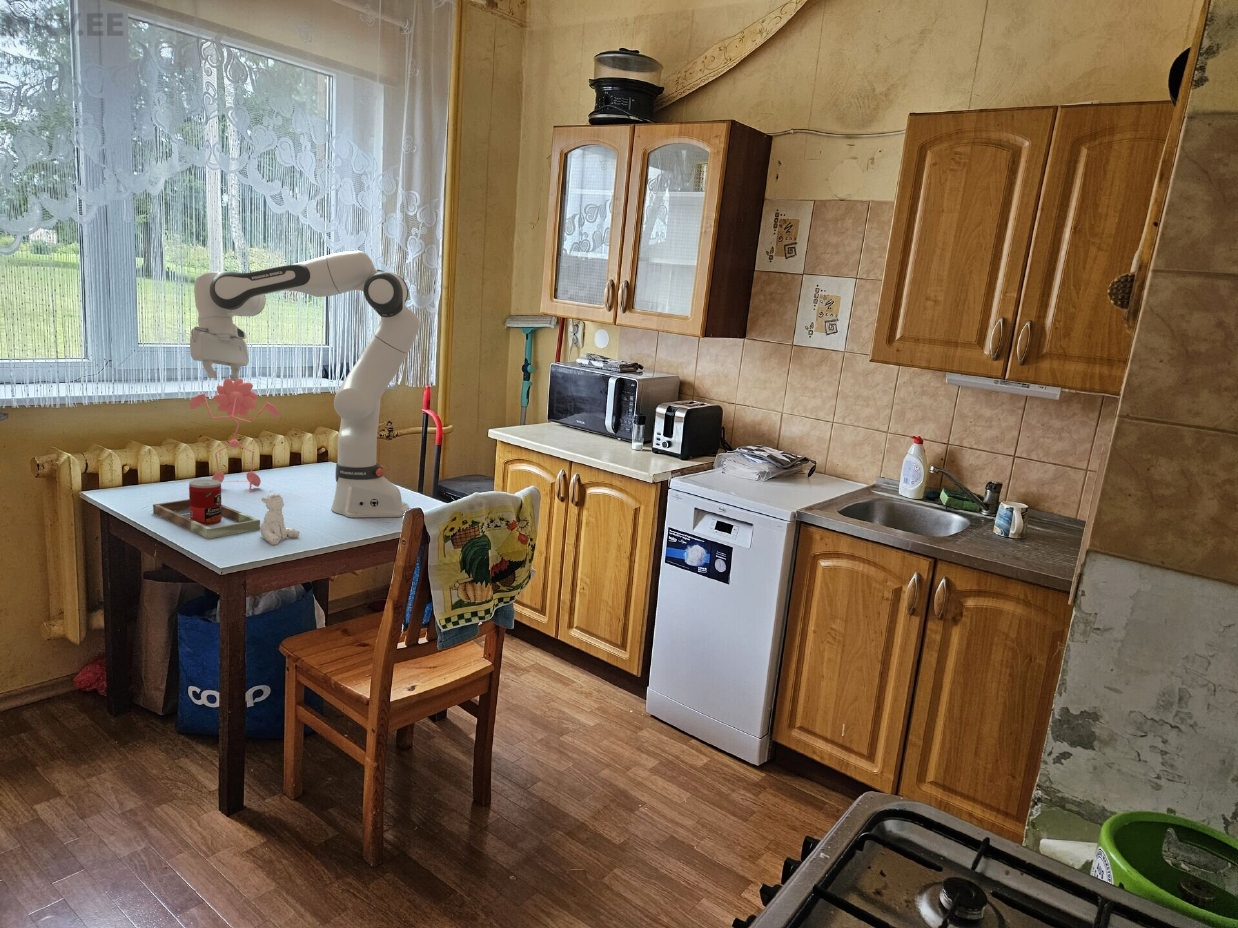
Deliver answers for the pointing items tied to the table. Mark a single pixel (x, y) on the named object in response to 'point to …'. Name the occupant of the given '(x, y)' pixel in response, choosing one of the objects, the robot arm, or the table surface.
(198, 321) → the robot arm
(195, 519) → the canned food
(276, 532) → the sitting furry creature
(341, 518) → the table surface
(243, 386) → the flower headed marionette
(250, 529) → the shallow wooden tray
